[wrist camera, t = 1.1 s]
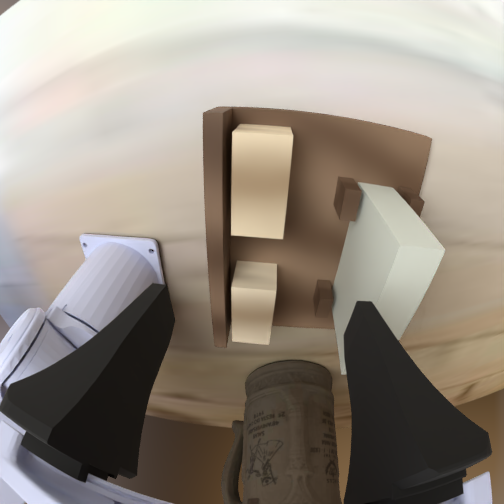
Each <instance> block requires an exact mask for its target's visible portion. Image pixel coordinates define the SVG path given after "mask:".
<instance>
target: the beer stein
mask: <svg viewBox="0 0 504 504" xmlns="http://www.w3.org/2000/svg"><path fill="white" fill-rule="evenodd" d="M245 386H246V395H247V400H246V403H245V413H244V421H238V420H235V421H233V423H232V429H233V432H234V433H235V441H234V444H233V446H232V449H231V450H230V453H229V455H228V457H227V460H226V463H225V465H224V469H223V473H222V481H221V486H222V494H223V499H224V504H342V502H341V498H340V491H339V468H338V457H337V444H336V432H335V422H334V398H333V394H332V391H331V389H332V378H331V375H330V373H329V372H328V371H327V370H326V369H325V368H324V367H322V366H319V365H317V364H314V363H310V362H305V361H293V360H291V361H284V362H276V363H272V364H268V365H266V366H263V367H261V368H259V369H257V370H255V371H254V372H253V373H251V374H250V375H249V377H248V378H247V380H246V382H245ZM241 463H242V481H243V485H244V493H243V502H241V501H240V497H239V492H238V480H239V472H240V467H241Z"/></svg>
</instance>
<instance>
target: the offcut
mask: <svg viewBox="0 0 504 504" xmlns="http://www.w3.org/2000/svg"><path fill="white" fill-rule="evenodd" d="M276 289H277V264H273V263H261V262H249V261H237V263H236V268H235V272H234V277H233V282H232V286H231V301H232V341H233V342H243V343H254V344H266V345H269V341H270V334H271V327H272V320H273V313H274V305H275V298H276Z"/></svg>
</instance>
